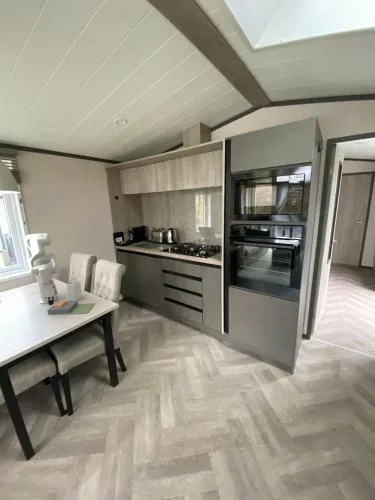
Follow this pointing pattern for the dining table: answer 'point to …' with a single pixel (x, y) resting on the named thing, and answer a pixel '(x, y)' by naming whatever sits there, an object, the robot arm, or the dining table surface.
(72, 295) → the milk carton
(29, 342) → the dining table surface
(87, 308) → the mat
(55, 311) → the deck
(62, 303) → the tile
